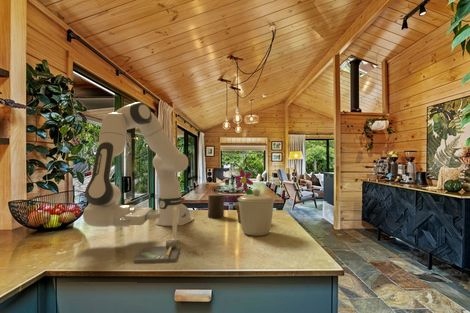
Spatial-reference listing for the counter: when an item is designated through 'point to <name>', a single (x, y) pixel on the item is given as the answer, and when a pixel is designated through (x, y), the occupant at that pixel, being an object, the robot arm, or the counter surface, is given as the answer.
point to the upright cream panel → (173, 233)
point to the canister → (256, 213)
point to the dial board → (156, 254)
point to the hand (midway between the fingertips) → (159, 215)
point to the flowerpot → (245, 187)
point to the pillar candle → (215, 205)
